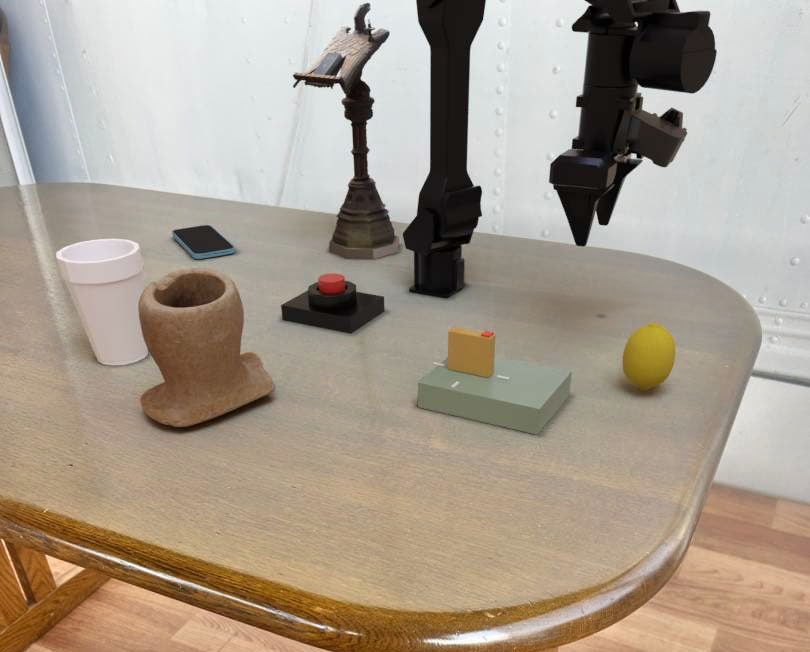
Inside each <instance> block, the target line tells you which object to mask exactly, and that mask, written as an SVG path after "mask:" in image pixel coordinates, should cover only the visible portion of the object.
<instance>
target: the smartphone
mask: <svg viewBox="0 0 810 652" xmlns="http://www.w3.org/2000/svg"><path fill="white" fill-rule="evenodd" d="M171 234H172V235H171V236H172V237H173V238H174V240H176V242H178V244H179V245H180V246H181V247H182V248H183V249H184V250H185V251H186V252H187V253H188V254H189V255H190V256H191V257H192V258H193V259H196V260H200V259H208V258H215V257H219V256H220V257H221V256H226V255H230V254H234V253H236V248H235V245H234V244H232V242H230V241H229V240H228V239H227V238H226V237H225V236H224V235H223V234H221V233H220V232H219V231H218V230H217V229H216V228H214V227H213V226H212V225H211V224H203V225H195V226H188V227H182V228H177V229H176V228H175V229H173V230H172V231H171Z"/></svg>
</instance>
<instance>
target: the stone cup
mask: <svg viewBox="0 0 810 652" xmlns="http://www.w3.org/2000/svg"><path fill="white" fill-rule="evenodd" d="M138 310H139V319H140V325H141V330H142V334H143V338H144V341H145V344H146V346H147V348H148V353H149V354H150V356H151V357H152V359H153V361H154V363H155V364H156V366H157V367H158V369H159V371H160V373H161V375H162V379H163V382H161V383H159V384H156V385H154V386H153V387H151V388H148V389H147V390H145V391H144V392H143V393H142V394H141V396H140V398H139V404H140V406H141V407H142V408H141V409H142V410H143V412H144V413H145V414H146V415H147V416H148V417H149V418H150V419H152V420H154V421H155V422H157V423H159V424H162V425H166V426H172V427H175V428H185V427H190V426H191V427H192V426H194V425H197V424H200V423H203V422H206V421H210V420H211V419H215V418H217V417H220V416H223V415H224V414H227V413H230V412H232V411H234V410H237V409H238V408H241V407H243V406H245V405H248V404H250V403H252V402H254V401H257V400H259V399H260V398H263V397H266V396H268V395H270V394H272V393H274V392H275V391H276V385H275V382H274V380H273V379H272V377H271V376H270V375H269V373H268V372H267V370H266V369H265V367H263V361H262V358H261V357H260V356H259V355H258V354H257V353H254V352H252V351H247V352H246V351H245V352H243V353H241V350H242V349H241V348H242V338H243V337H242V336H243V332H244V324H245V323H244V322H245V312H244V306H243V302H242V299H241V294H240V292H239V290H238V288H237V287H236V283H235V282H234V280H233V279H232V278H231V277H229V275H228V274H226V273H223V272H222V271H219V270H217V269H213V268H208V267H189V268H180V269H177V270H174V271H171V272H169V273H168V274H166V275H164V276H162V278H160V279H158V280H156V281H152V282H150V283H149V284H148V285H146V287H145V288H144V291H143V293H142V294H141V296H140V299H139V305H138Z"/></svg>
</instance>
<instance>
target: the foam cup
mask: <svg viewBox="0 0 810 652" xmlns="http://www.w3.org/2000/svg"><path fill="white" fill-rule="evenodd" d="M141 253H142V252H141V249H140V245H139V243H138V242H135V241H133V240H130V239H123V238H100V239H99V238H98V239H97V238H96V239H90V240H85V241H80V242H76V243H72V244H70V245H67V246H63V247H62V248H61V249H59V250H58V251H56V252H55V254H56V255H55V257H56V262H57V265H58V269H59V273H60V277H61V279H63V280H64V282H65V284H66V288H67V290H68V292H69V294H70V297H71V299H72V302H73V304H74V307H75V310H76V312H77V314H78V317H79V320H80V322H81V324H82V326H83V330H84V331H85V334H86V336H87V339H88V341H89V343H90V346H91V349H92V351H93V354H94V356H95V357H96V360H97V362H99V364H102V365H105V366H125V365H130V364H134V363H137V362H139V361H142V360H144V359H146V357H147V356H148V355H149V350H148V348H147V346H146V344H145V341H144V338H143V334H142V330H141V325H140V319H139V310H138V305H139V299H140V296H141V294H142V293H143V291H144V289H145V288H144V277H143V270H144V269H145V268H144V264H143V259H142V254H141Z"/></svg>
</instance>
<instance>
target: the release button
mask: <svg viewBox="0 0 810 652" xmlns="http://www.w3.org/2000/svg"><path fill="white" fill-rule="evenodd" d="M345 281H346V277H345V275H344V274H341V273H333V272H332V273H325V274H321V275H320V276H318V278H317V282H318V285H319V292H323V293H338V292H343V291H344V290H345Z"/></svg>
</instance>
